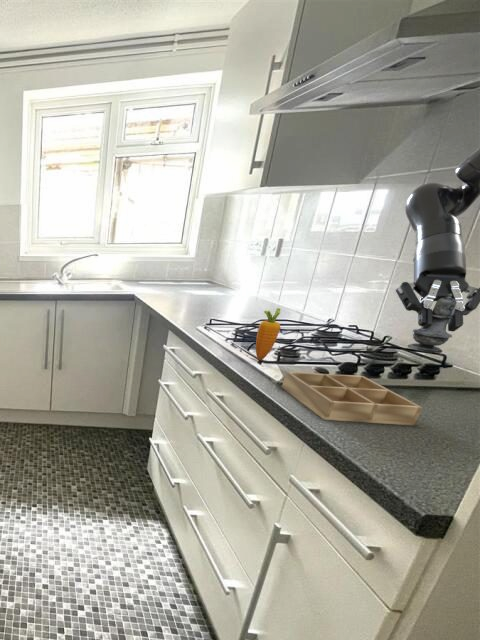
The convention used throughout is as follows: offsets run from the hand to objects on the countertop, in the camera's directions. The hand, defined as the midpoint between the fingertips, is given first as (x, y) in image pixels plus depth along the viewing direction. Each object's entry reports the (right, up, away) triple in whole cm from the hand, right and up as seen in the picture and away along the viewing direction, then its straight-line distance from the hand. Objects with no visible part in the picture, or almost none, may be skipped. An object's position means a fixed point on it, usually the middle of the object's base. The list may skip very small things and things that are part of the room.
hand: (440, 327), depth 86 cm
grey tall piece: (+1, -4, +4) cm, 6 cm away
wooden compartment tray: (-15, -16, +6) cm, 23 cm away
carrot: (-15, -5, +32) cm, 36 cm away
